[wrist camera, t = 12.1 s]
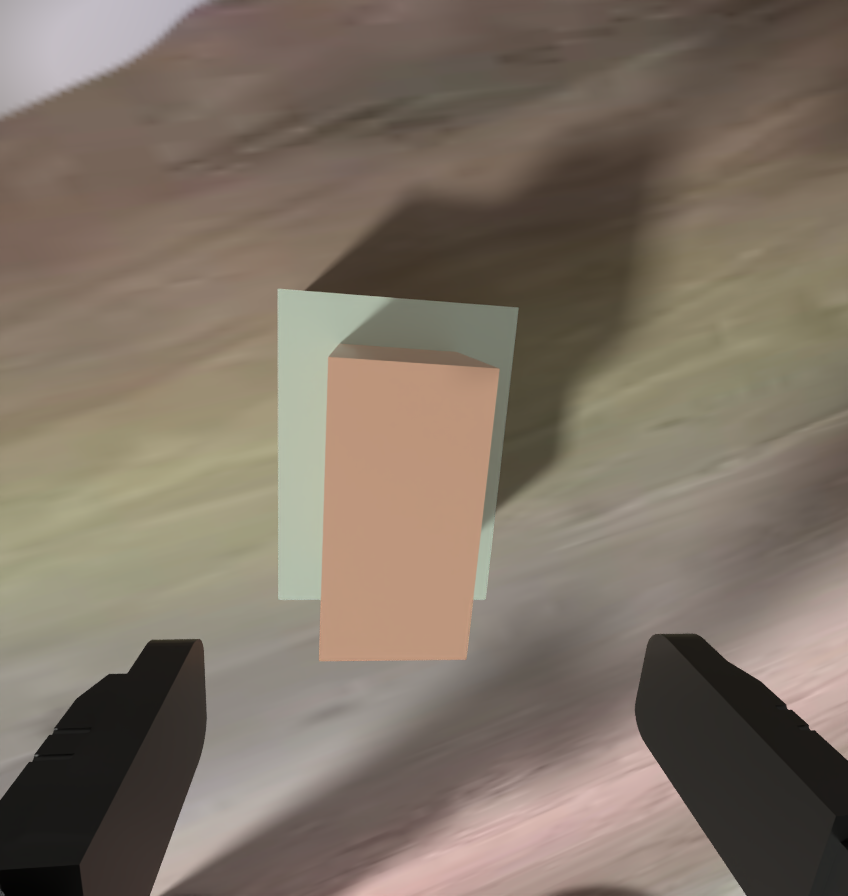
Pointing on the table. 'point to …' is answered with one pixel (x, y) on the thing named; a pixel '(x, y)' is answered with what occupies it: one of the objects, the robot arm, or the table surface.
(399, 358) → the terracotta brick
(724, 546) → the table surface
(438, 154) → the table surface
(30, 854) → the robot arm
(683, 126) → the table surface
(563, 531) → the table surface
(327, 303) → the green and white block
